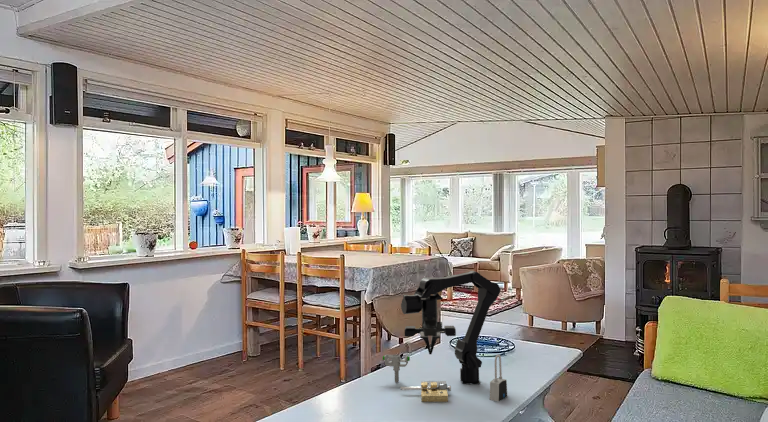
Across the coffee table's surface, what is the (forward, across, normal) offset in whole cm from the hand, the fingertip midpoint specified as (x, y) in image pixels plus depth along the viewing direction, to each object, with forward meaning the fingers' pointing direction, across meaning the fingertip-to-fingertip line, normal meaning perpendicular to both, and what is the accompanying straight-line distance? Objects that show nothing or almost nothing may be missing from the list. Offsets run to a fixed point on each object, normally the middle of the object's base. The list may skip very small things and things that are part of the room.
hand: (430, 354), depth 214 cm
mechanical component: (+12, -13, +6) cm, 19 cm away
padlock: (+12, +23, -13) cm, 29 cm away
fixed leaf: (+12, -2, -5) cm, 13 cm away
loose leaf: (+12, +1, -12) cm, 17 cm away
